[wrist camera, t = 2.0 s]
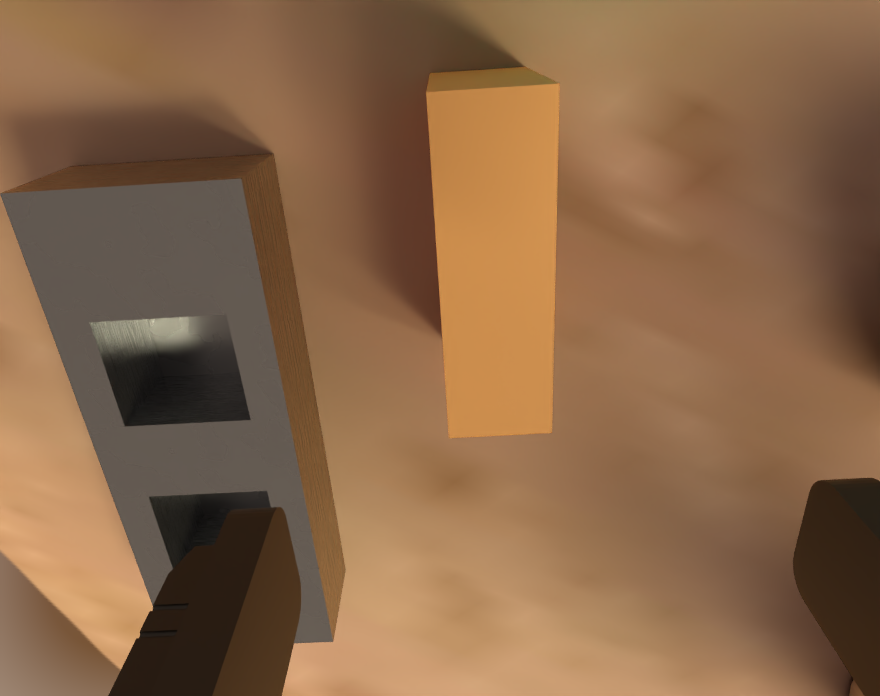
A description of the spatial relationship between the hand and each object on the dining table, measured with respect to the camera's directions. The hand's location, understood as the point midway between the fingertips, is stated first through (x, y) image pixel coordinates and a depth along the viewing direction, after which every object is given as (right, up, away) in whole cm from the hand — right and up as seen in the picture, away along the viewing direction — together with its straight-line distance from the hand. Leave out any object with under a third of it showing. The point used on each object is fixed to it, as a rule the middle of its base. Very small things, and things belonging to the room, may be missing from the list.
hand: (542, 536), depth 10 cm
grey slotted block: (-11, 0, +20) cm, 23 cm away
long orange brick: (0, +8, +16) cm, 18 cm away
